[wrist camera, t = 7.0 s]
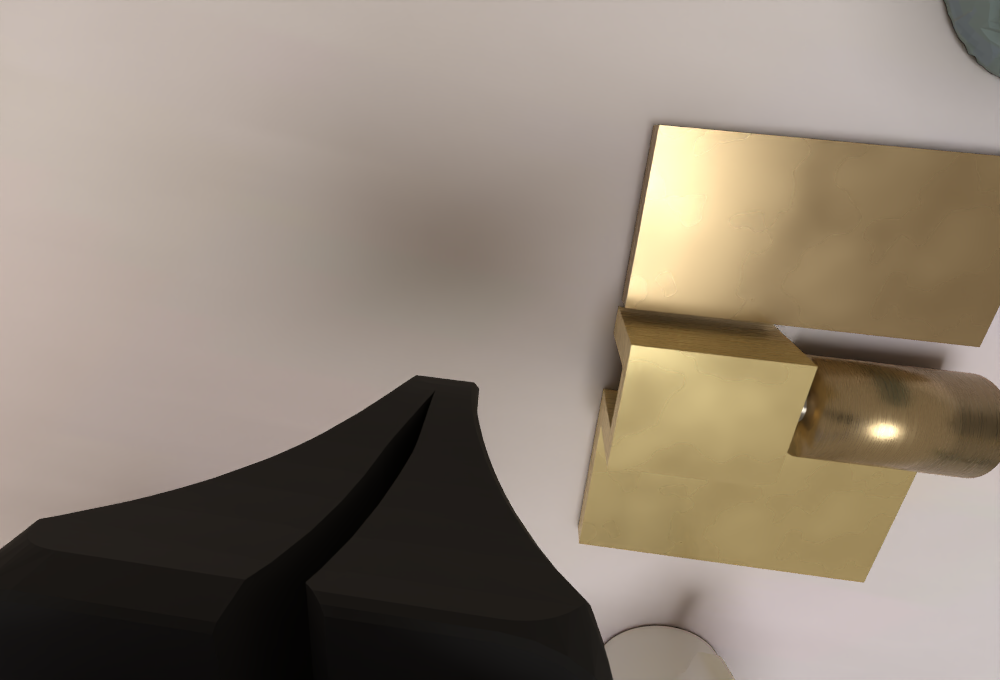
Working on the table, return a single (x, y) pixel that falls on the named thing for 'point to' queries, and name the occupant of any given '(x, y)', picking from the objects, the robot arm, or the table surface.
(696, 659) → the mug
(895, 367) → the bronze leaf with pin
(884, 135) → the table surface
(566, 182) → the table surface
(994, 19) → the teal cup
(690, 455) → the brass leaf
